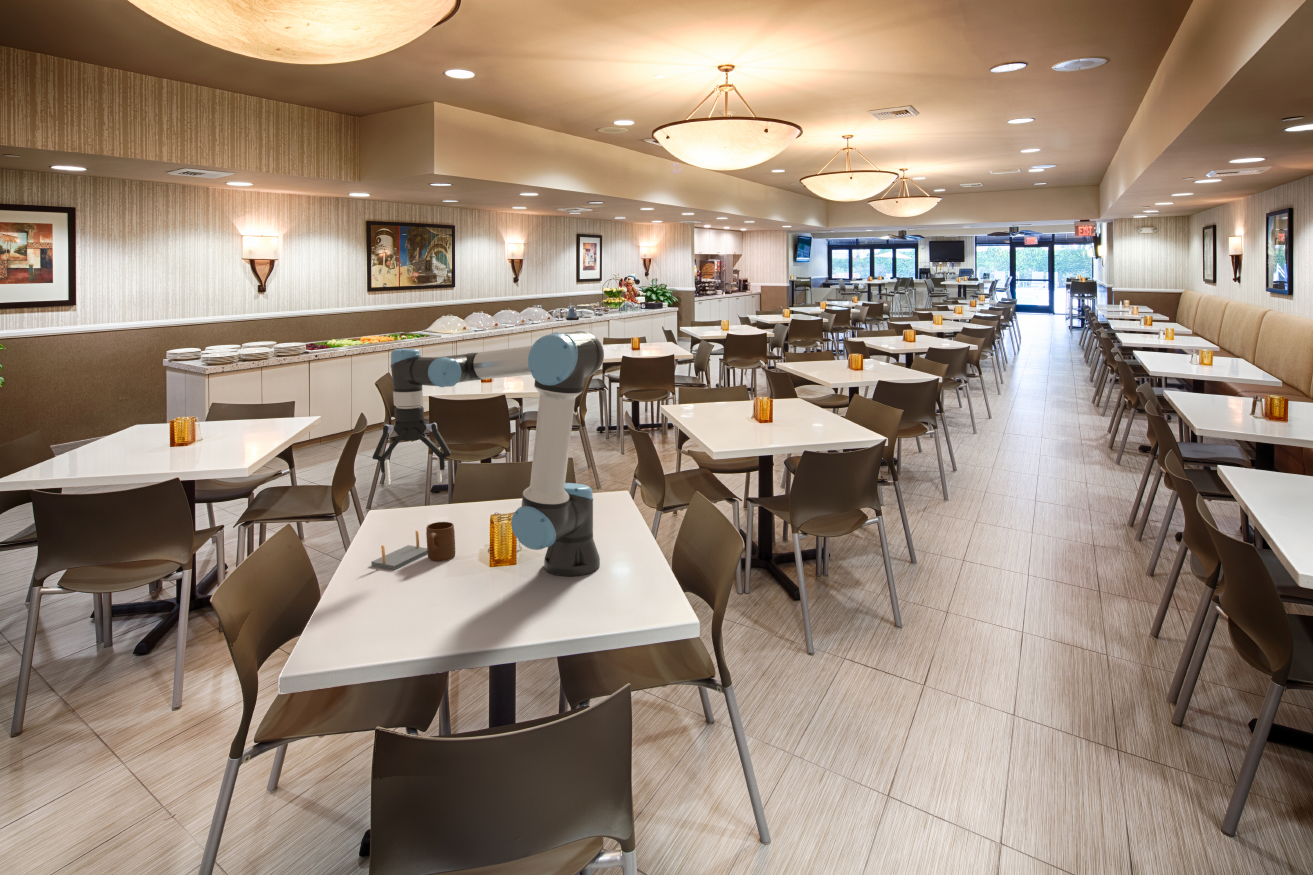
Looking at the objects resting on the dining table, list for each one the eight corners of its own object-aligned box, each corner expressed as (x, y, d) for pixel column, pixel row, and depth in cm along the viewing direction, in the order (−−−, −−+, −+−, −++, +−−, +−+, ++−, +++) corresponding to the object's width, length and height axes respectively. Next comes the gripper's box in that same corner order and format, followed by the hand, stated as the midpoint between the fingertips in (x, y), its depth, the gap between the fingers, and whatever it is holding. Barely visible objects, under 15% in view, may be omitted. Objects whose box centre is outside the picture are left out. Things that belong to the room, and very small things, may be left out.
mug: (444, 568, 198) (442, 535, 196) (417, 567, 199) (415, 534, 197) (459, 553, 210) (457, 521, 208) (433, 552, 210) (431, 521, 209)
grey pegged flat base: (430, 552, 210) (429, 532, 209) (394, 570, 197) (393, 548, 195) (408, 549, 213) (407, 528, 212) (371, 565, 200) (370, 544, 198)
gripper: (457, 403, 203) (462, 477, 207) (363, 405, 198) (369, 481, 202) (455, 406, 195) (459, 483, 199) (357, 409, 191) (363, 488, 195)
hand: (414, 482), depth 201 cm, fingers open, 13 cm apart
